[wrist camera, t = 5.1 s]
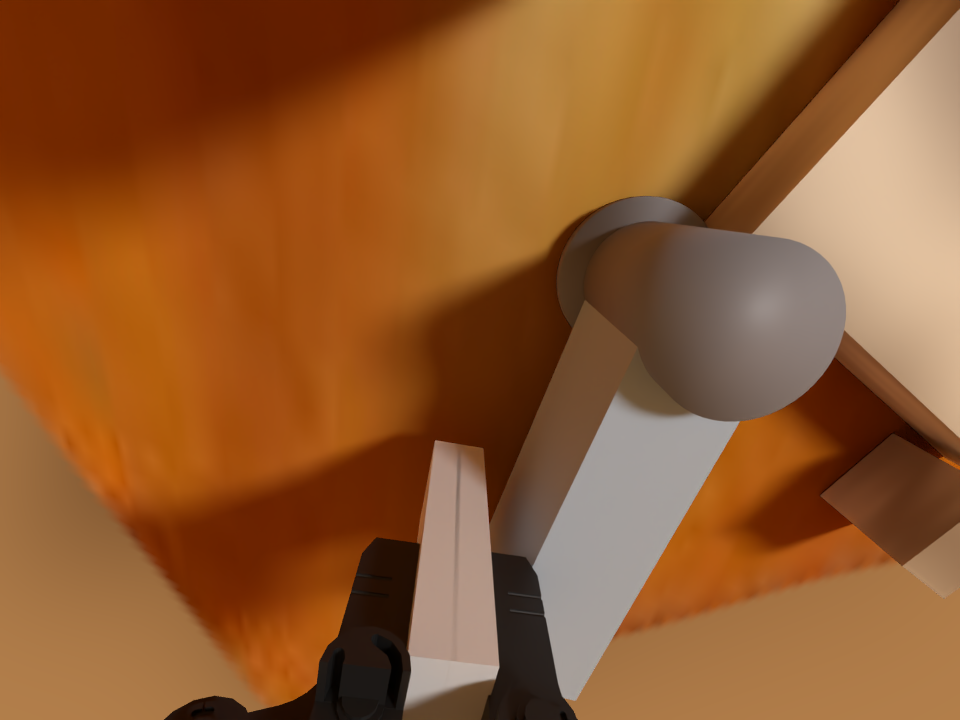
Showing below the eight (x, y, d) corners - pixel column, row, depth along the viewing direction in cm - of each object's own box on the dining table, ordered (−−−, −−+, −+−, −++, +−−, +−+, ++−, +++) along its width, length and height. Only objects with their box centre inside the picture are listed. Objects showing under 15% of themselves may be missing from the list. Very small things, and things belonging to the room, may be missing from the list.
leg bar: (613, 203, 12) (710, 207, 7) (724, 245, 12) (885, 275, 7) (468, 552, 15) (466, 710, 11) (557, 575, 16) (594, 737, 11)
